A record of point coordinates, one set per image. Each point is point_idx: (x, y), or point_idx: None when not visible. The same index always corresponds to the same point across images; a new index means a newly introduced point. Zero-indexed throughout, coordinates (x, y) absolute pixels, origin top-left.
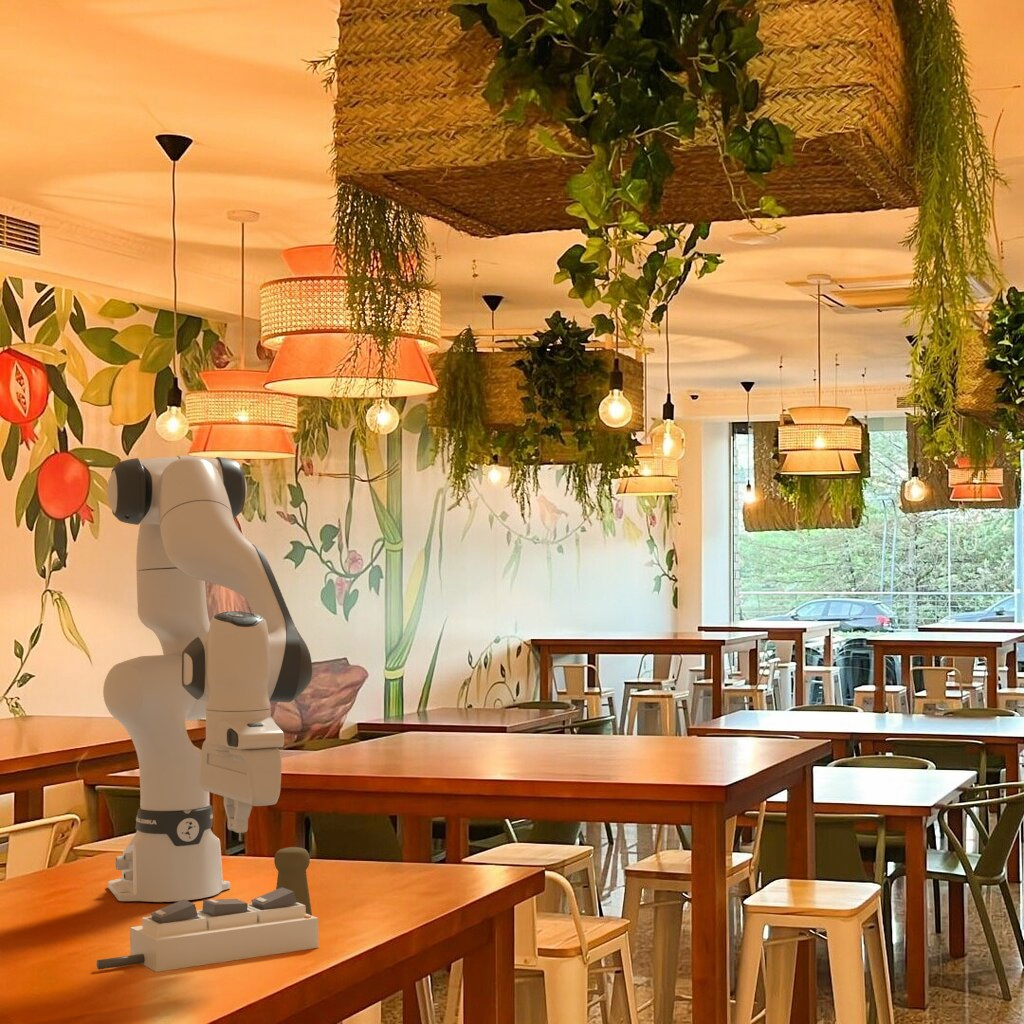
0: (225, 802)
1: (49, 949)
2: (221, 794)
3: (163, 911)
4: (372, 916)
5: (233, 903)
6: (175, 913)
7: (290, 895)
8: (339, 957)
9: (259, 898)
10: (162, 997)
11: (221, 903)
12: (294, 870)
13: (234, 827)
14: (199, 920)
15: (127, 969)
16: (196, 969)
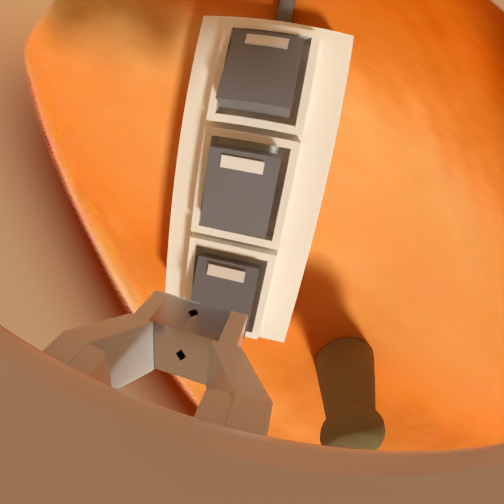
0: (239, 406)
1: (477, 30)
2: (211, 428)
3: (272, 49)
4: (289, 424)
5: (208, 195)
6: (227, 56)
7: None
8: (119, 271)
9: (236, 276)
10: (101, 5)
11: (216, 169)
12: (329, 415)
13: (163, 300)
14: (209, 104)
15: (270, 10)
16: (187, 84)
